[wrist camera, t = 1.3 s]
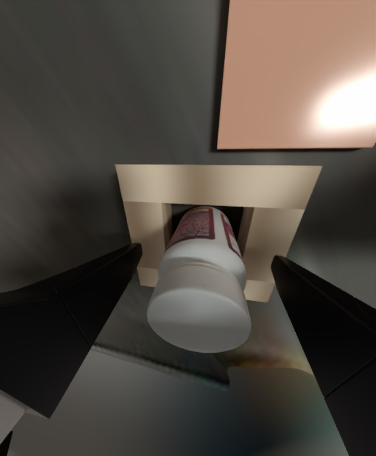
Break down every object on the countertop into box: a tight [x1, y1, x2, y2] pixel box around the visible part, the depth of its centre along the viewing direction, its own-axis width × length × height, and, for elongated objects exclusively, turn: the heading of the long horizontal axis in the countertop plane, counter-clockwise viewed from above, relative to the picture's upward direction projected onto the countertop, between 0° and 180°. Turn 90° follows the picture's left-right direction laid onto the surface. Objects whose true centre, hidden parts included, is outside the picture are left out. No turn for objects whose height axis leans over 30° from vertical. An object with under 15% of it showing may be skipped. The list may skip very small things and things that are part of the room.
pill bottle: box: [147, 206, 251, 353], centre depth 9 cm, size 5×5×8 cm
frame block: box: [115, 164, 322, 302], centre depth 11 cm, size 12×11×2 cm
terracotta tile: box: [217, 0, 376, 150], centre depth 7 cm, size 9×8×1 cm
